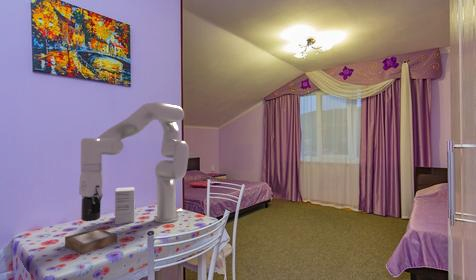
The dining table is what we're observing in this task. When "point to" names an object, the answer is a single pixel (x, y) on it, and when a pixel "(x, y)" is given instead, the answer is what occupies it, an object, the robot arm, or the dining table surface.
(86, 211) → the supplement bottle
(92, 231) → the dock
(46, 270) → the dining table surface
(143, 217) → the dining table surface
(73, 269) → the dining table surface
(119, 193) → the supplement box
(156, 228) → the dining table surface
